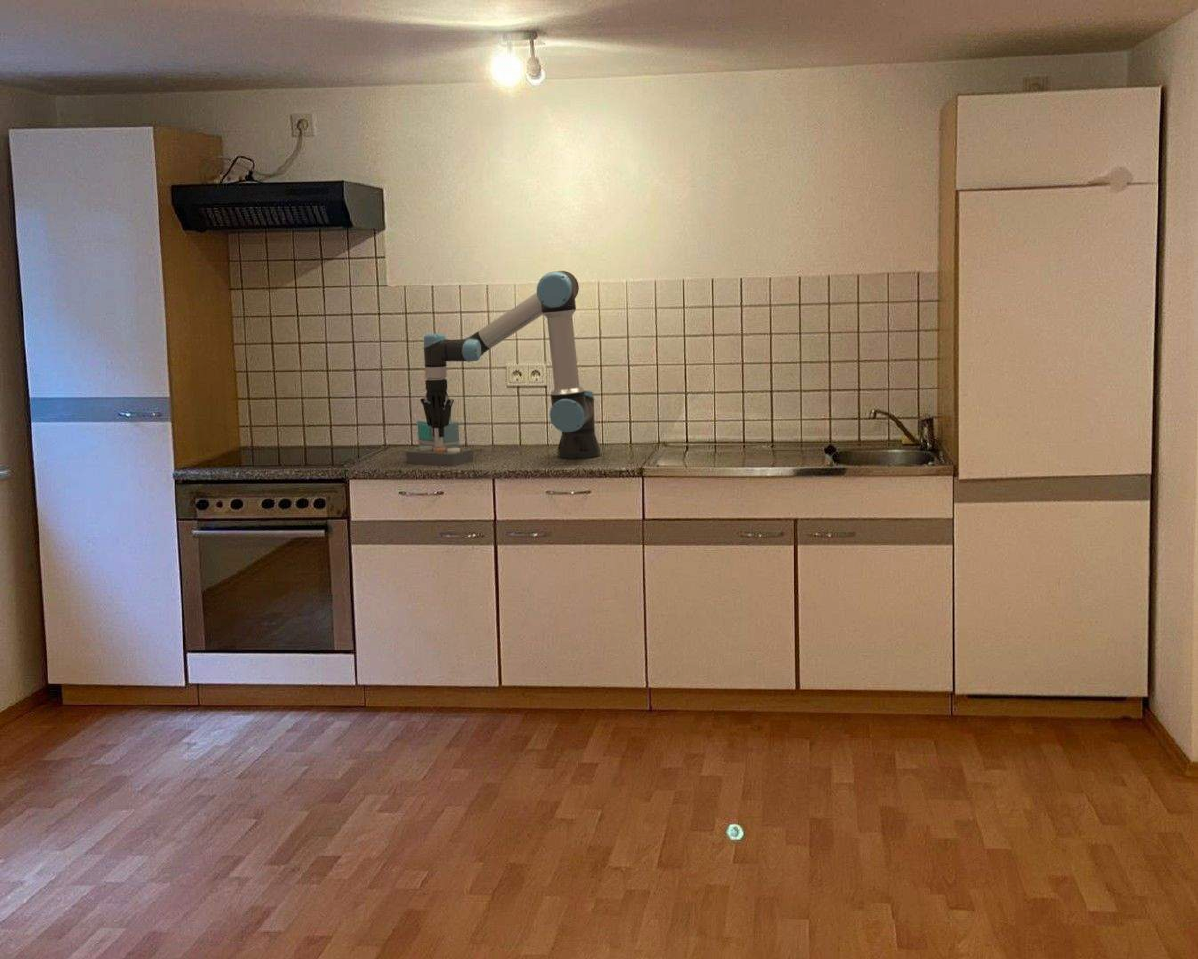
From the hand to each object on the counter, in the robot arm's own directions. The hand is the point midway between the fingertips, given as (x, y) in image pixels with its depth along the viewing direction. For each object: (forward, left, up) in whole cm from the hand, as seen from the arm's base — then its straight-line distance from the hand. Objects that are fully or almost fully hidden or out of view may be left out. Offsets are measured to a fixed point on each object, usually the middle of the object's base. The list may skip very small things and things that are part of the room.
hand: (439, 446), depth 510 cm
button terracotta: (0, 0, -3) cm, 3 cm away
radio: (+13, -16, -6) cm, 21 cm away
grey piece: (0, 0, -5) cm, 5 cm away
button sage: (+6, 0, -3) cm, 7 cm away
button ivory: (-6, 0, -3) cm, 7 cm away
